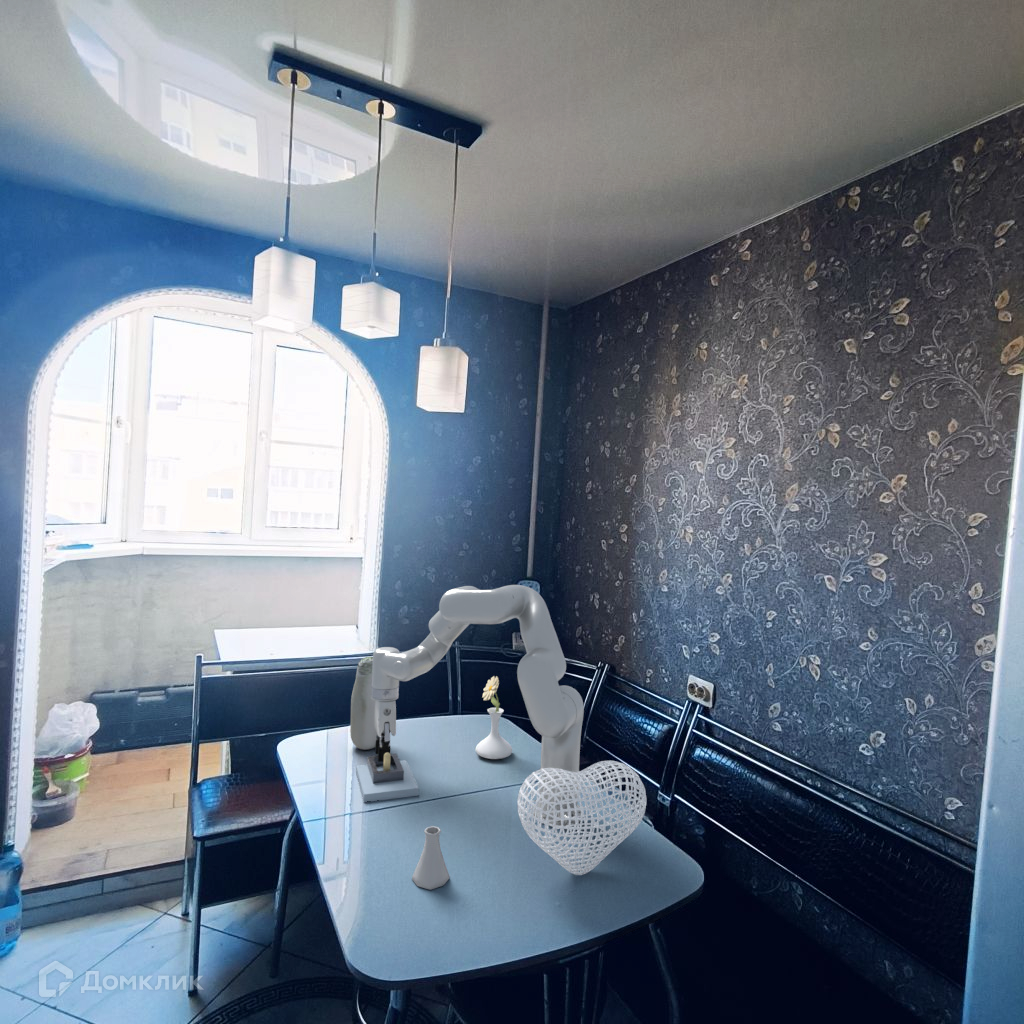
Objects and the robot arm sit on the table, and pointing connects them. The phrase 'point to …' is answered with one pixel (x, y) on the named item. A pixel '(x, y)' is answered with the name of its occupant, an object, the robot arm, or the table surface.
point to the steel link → (387, 774)
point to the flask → (431, 862)
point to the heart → (581, 777)
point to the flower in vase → (493, 727)
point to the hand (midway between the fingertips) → (382, 756)
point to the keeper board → (386, 783)
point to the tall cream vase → (363, 707)
